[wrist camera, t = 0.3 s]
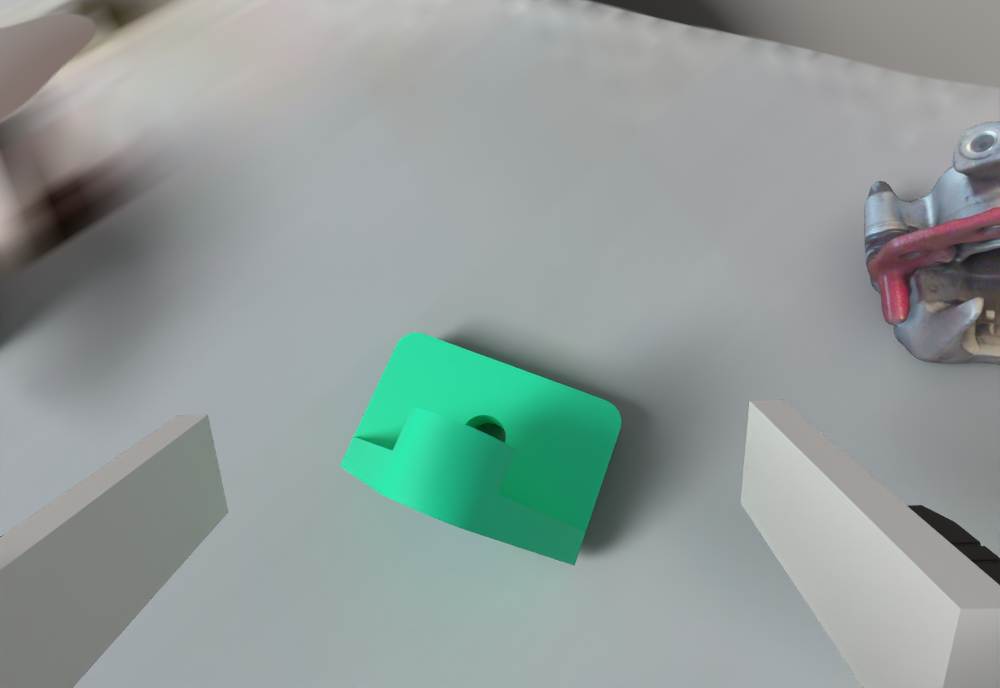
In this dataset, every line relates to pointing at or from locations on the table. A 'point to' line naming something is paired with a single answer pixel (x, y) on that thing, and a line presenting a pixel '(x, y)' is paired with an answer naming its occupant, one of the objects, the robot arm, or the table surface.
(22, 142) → the table surface
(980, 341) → the brake caliper
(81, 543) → the robot arm
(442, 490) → the camera mount
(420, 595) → the table surface
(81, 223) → the table surface
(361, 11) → the table surface
